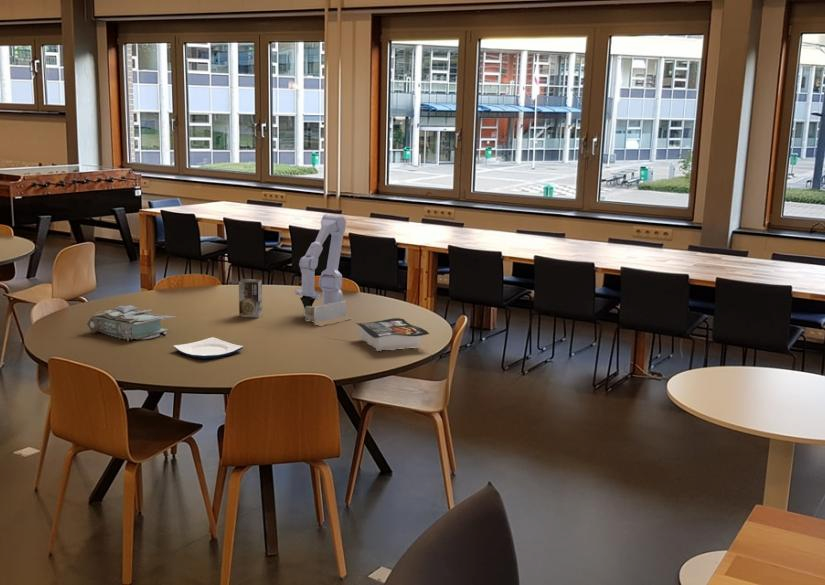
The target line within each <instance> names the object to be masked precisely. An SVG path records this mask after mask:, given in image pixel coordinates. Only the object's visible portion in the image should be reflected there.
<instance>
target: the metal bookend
mask: <svg viewBox="0 0 825 585" xmlns="http://www.w3.org/2000/svg"><path fill="white" fill-rule="evenodd" d="M315 306H316V307H315ZM315 306H313V307H314V323H315V324H316V323H319V322H323V321H327V320H331V319H335V318H339V317H344V316H346V317H347V300H343V301H340V302H336V303H331V304H326V305H322V304H321V305H318V306H317V305H315ZM314 323H313V324H314Z"/></svg>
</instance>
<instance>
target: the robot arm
mask: <svg viewBox="0 0 825 585" xmlns="http://www.w3.org/2000/svg"><path fill="white" fill-rule="evenodd" d="M346 224H347V220H346V218H345V217H344V215H335V214H328V213H325V214H323V215H322V218H321V220H320V229H319V232H318V234H317V236H316V238H315V241H314V242H311V244H310V246H309V247H308V249H307V250H306V253H305V255H304V256H302V257H300V259H299V263H298V266H299V268H300V273H301V289H295V292H294V293H295V294H294V295H296V296H297V295H299V296H302V297H300V301H301V302H302V305H303V310H304V309H305V307H306V306H313V304H314V302H315V301H316V300H321V299H322V304H321V305H326V303H336V302H340V301H344V295H343V294H344V293H343V291H342V290H341V288H342V286H343V280H342V279H343V275H342V273H341V272H340V271H339V265H340V258H341V253H342V245H343V238H344V234H345V231H346V226H347V225H346ZM329 235H331V239H330V244H329V251H328V257H327V263H326V269H324V270H322V272H320V273H321V274H320V277H319V278H318V286H319V287H320V289H321V290H322V294H318V293H317V292H315V287H316V286H315V285H316V284H315V281H316V280H315V278H316V277H315V276H316V275H315V270H316V269H317V268H318V264H319V257H320V256H321V253H322V251H323V250H324V249H323V248H324V247H323V245H324V242H325V241H326V240H327V238H328V236H329Z"/></svg>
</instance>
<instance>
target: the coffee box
mask: <svg viewBox="0 0 825 585" xmlns="http://www.w3.org/2000/svg"><path fill="white" fill-rule="evenodd" d="M238 299H239V300H238V312H239V314H238V315H239V316H241V317H240V318H260V317H261V316H263V279H251V278H250V279H249V278H242V279H241V280H239V281H238ZM239 316H238V317H239Z"/></svg>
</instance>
